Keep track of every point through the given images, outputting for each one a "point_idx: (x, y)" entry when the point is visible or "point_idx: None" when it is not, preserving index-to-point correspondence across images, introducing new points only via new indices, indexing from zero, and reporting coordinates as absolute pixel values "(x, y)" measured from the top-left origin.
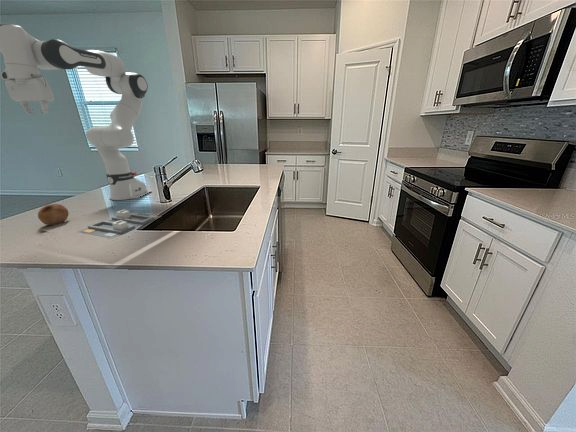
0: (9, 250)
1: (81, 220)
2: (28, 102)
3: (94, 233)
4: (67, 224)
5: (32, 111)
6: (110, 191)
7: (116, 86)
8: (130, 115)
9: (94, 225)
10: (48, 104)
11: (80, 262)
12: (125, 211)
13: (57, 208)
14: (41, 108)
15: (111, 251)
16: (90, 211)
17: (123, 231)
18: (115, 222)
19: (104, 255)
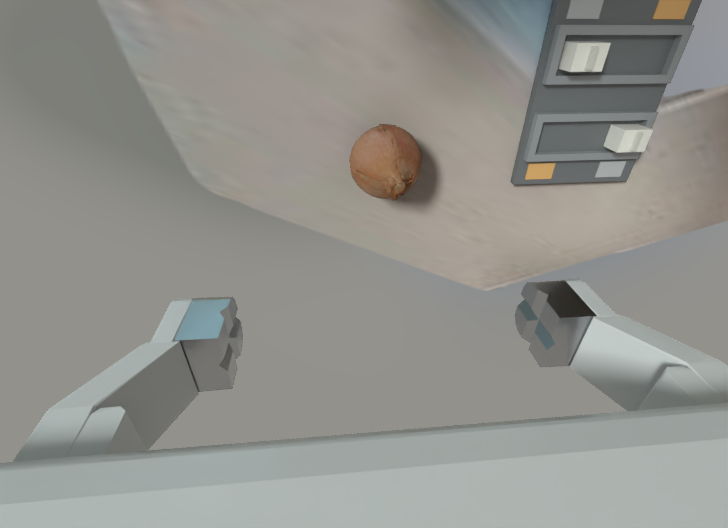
0: (441, 270)
1: (425, 106)
2: (108, 451)
3: (565, 176)
4: None
5: (222, 317)
6: None
7: None
8: None
9: (534, 147)
10: (715, 362)
11: (611, 252)
12: (599, 54)
13: (416, 168)
14: (573, 369)
15: (644, 210)
16: (364, 18)
17: None
18: (623, 145)
19: (639, 224)
